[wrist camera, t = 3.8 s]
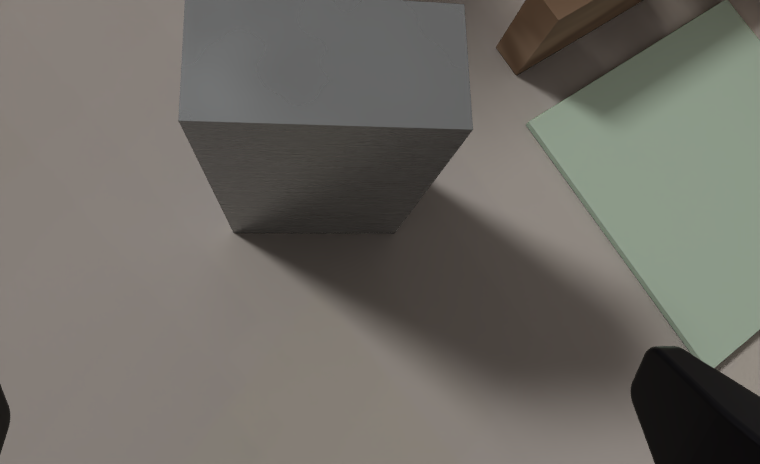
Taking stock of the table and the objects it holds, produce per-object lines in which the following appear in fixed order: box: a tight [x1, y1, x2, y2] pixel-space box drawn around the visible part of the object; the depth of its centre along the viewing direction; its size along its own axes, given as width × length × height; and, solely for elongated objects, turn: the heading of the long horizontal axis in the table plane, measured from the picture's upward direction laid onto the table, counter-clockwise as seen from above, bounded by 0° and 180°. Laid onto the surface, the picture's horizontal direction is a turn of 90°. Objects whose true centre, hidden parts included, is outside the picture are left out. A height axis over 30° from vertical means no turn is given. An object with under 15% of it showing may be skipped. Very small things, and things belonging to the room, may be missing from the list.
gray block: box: [179, 0, 473, 233], centre depth 17 cm, size 7×6×10 cm
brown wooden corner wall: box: [496, 0, 643, 75], centre depth 23 cm, size 16×14×4 cm
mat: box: [526, 0, 760, 368], centre depth 24 cm, size 12×12×1 cm
